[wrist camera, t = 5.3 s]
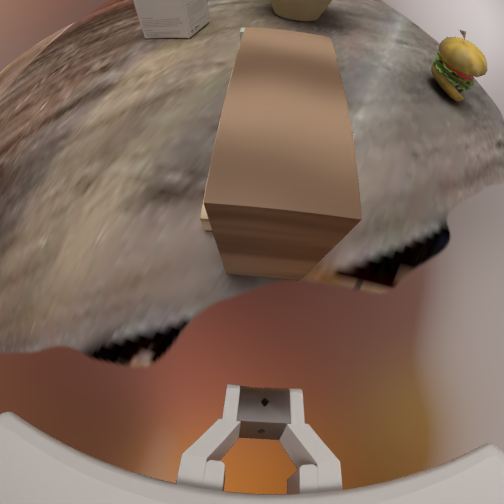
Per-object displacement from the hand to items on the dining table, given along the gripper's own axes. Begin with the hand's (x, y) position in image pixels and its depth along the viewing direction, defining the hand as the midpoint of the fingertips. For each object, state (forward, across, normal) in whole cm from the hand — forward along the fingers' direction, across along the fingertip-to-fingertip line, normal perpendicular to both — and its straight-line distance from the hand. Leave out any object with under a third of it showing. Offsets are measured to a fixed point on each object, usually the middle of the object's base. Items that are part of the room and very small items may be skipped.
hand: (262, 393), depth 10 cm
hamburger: (+31, -25, -20) cm, 44 cm away
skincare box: (+34, +16, -24) cm, 44 cm away
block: (+14, 0, -4) cm, 14 cm away
